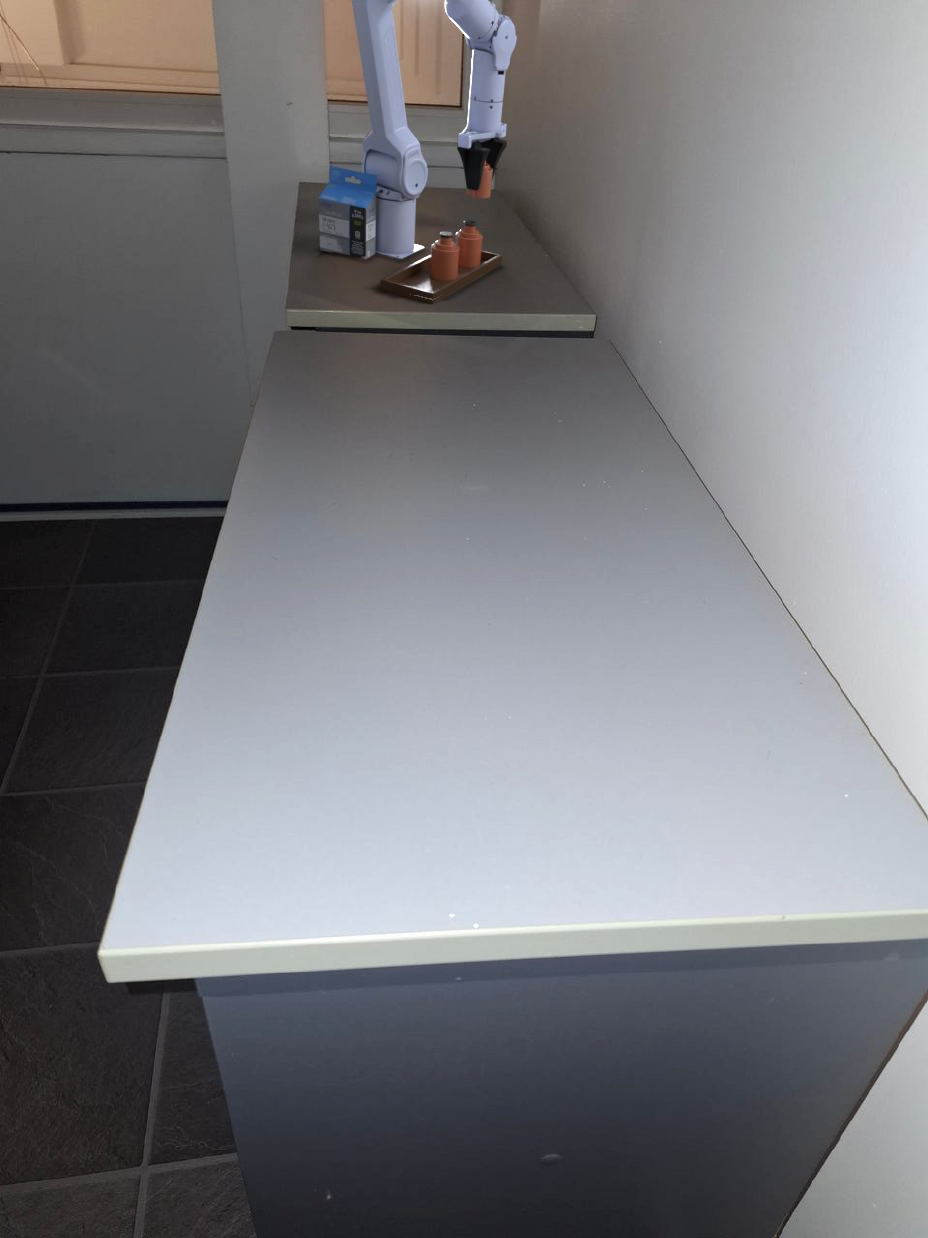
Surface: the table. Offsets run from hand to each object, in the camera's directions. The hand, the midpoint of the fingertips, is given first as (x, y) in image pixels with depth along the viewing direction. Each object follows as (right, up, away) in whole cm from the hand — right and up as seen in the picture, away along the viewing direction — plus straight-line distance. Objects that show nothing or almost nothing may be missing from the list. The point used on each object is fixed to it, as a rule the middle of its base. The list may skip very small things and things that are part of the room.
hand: (478, 186), depth 153 cm
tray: (-6, -23, -17) cm, 29 cm away
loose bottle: (0, -1, +1) cm, 1 cm away
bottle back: (-2, -18, -11) cm, 22 cm away
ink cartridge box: (-22, -17, -10) cm, 30 cm away
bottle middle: (-6, -23, -17) cm, 29 cm away
